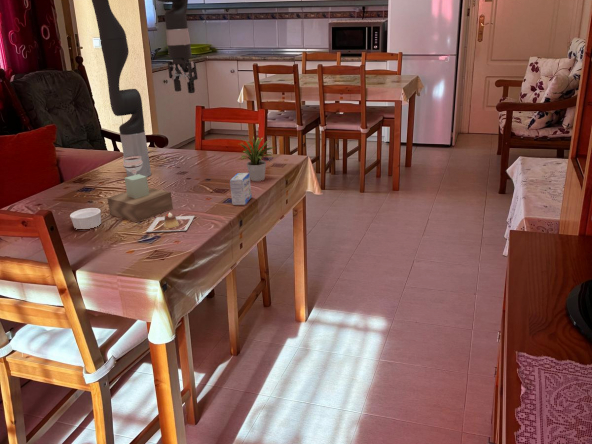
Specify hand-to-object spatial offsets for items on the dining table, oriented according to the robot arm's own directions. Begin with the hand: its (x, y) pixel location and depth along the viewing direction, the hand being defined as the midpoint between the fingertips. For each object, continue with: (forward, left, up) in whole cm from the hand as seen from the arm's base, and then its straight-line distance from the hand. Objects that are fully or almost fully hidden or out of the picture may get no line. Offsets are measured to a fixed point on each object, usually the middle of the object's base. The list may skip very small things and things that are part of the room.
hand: (184, 92), depth 199 cm
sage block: (+12, -29, -28) cm, 42 cm away
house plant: (+15, +16, -33) cm, 40 cm away
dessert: (+30, -29, -34) cm, 54 cm away
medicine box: (+30, -2, -33) cm, 45 cm away
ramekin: (+10, -46, -34) cm, 58 cm away
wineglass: (-11, -18, -33) cm, 39 cm away
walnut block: (+12, -29, -34) cm, 46 cm away
